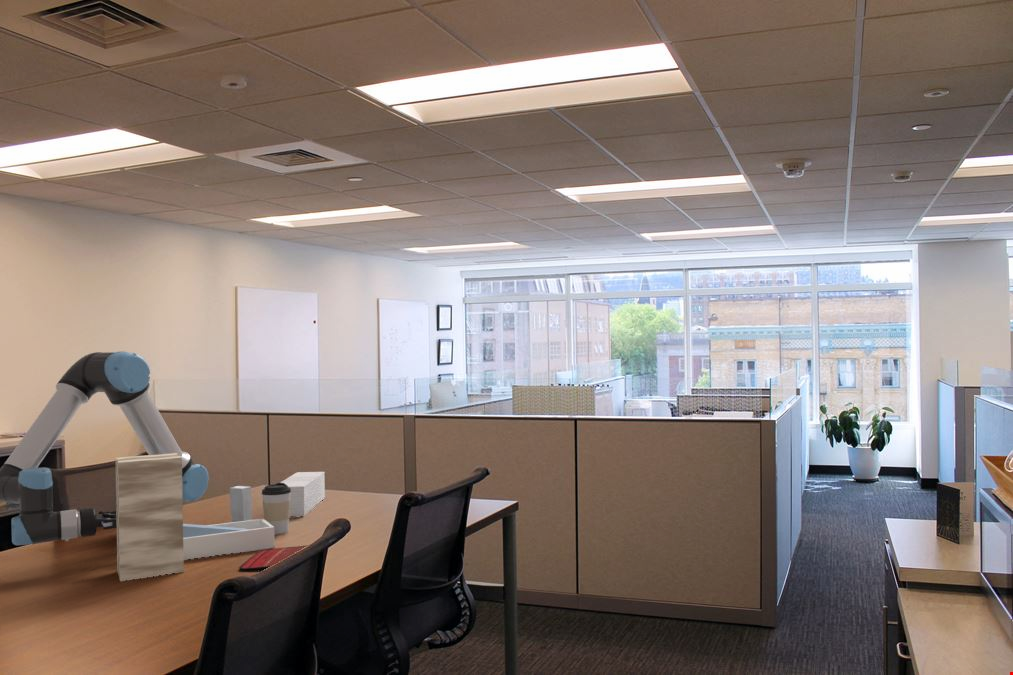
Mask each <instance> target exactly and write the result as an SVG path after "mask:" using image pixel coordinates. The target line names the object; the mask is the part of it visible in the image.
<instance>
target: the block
mask: <svg viewBox="0 0 1013 675" xmlns="http://www.w3.org/2000/svg"><path fill="white" fill-rule="evenodd" d="M207 525H208V524H207ZM207 525H206V524H194V523H183V538H187V537H195V536H203V535H211V534H218V533H226V532H234V531H242V530H248V529H246V528H234V527H220V526H207Z"/></svg>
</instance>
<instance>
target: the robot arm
mask: <svg viewBox="0 0 1013 675" xmlns="http://www.w3.org/2000/svg"><path fill="white" fill-rule="evenodd" d="M150 374H151V369H150V367H149V364H148V362H147V361H146V360H145V358H143V357H142V356H141V355H139V354H137V353H135V352H128V351H126V350H125V351H115V352H114V351H113V352H109V351H108V352H97V351H96V352H91V353H88V354H86V355H84V356H82V357H81V358H79V359H78V360H76V362H74V363H73V364H72V365H71V366H70V367H69V369H67V371H66V372H65V373H64V374H63V375H62V376H61V378H60V379H59V380H58V382H57V383H56V384H55V393H53V396H52V397H51V398H50V399H49V401H48V402H47V403H46V405H45V406H44V408H43V409H42V411H41V412H40V413H39V415H38V416H37V418H36V419H35V420H34V422H33V423H32V424H31V426H30V427H29V429H28V430H27V432H26V433H25V434H24V436H23V437H22V438H21V440H20V441H19V443H18V444H17V445H16V447H15V448H14V450H13V451H12V452H11V454H10V455H9V457H8V458H7V459H6V461H5V462H4V463H3V465H2V466H1V467H0V503H9V504H19V515H17V516H14V517H12V518H11V523H10V524H11V543H12V544H13V545H15V546H25V545H26V546H28V545H32V546H33V545H36V544H42V543H48V542H49V543H50V542H55V541H61V540H62V541H63V540H65V542H69V541H70V539H76V538H78V537H79V536H80V537H81V538H87V537H93V536H95V535H96V534H97V528H103V530H109V529H110V530H112V529H117V520H116V508H115V509H110V510H100V511H98V513H97V514H96V508H95V507H86V508H80V509H79V510H77V509H67V510H61V511H54V506H53V492H54V490H53V484H54V481H53V475H52V471H51V469H50V468H48V467H39V466H40V464H41V463H42V462H43V460H44V459H45V457H46V456H47V454H48V453H49V452H50V450H51V449H52V447H54V444H55V443H56V441H57V440H58V439H59V438H60V436H61V435H62V433H63V431H64V430H65V429H66V427H67V426H68V424H69V423H70V421H71V420H72V418H73V417H74V416H75V414H76V413H77V411H78V410H79V408H80V407H81V405H83V404H86V403H87V404H88V402H89V401H90V399H91V398H92V396H94V395H95V394H96V393H104V394H105V395H106V397H107V398H108V401H109V402H110V403H111V405H112V406H113V405H114V406H116V407H117V406H118V407H120V409H121V411H122V413H123V415H124V416H125V418H126V419H127V421H128V422H129V424H130V426H131V428H132V430H133V431H134V432H135V434H136V436H137V438H138V439H139V441H140V443H141V444H142V447H143V448H144V449H145V451H146V453H147V454H148V455H157V454H170V453H177V454H178V455H179V456H181V457H182V498H183V503H187V502H189V503H190V502H195V501H197V500H199V499H200V498H202V496H203V495H204V494H205V492H206V491H207V489H208V484H209V480H210V479H209V478H210V477H209V471H208V469H207V468H206V467H205V466H203V465H202V464H200V463H199V464H198V463H195V462H194V460H193V458H192V457H191V455H190V454H189V453H188V452H187V451H183V450H182V449H181V447H180V446H179V445H178V443H177V441H176V439H175V437H174V435H173V434H172V432H171V430H170V428H169V426H168V425H167V423H166V421H165V420H164V418H163V416H162V414H161V412H160V411H159V409H158V407H157V406H156V404H155V402H154V400H153V399H152V397H151V395H150V393H149V390H150V387H151V385H150V379H151V376H150Z"/></svg>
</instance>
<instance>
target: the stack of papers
mask: <svg viewBox="0 0 1013 675" xmlns="http://www.w3.org/2000/svg"><path fill="white" fill-rule="evenodd" d="M325 472H326V471H299V472H295V473H294V474H292V475H290V476H289V477H287V478H286V479H284V480H282V481H280V482H279V483H284V484H286V485H287V486H288V487H289V488H291V492H290V499H291V502H290V516H304V515H306V514H307V513H308V512H309V511H310V510H312V509H313V508H314V507H315V506H316V505H317V504H318V503H319V502H320V501H322V500H323V499H324V498H325V499H326V493H325V492H326V488H325V486H326V485H325V482H326V481H325V480H326V478H325V474H326V473H325ZM323 501H324V500H323ZM323 501H322V502H323ZM315 508H316V507H315ZM315 508H314V509H315ZM314 509H313V510H314ZM313 510H312V511H313ZM307 515H308V514H307ZM307 515H306V516H307Z"/></svg>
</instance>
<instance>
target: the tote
mask: <svg viewBox="0 0 1013 675" xmlns="http://www.w3.org/2000/svg"><path fill="white" fill-rule="evenodd" d="M207 526H220V527H234V528H246V529H248V530H242V531H234V532H226V533H218V534H211V535H203V536H195V537H187V538H183V557H184V561H188V559H191V560H195V559H194V558H198V559H202V558H201V557H205V558H210V557H209V556H212V557H216V556H215V555H219V556H223V555H222V554H226V555H232V554H231V553H233V554H240V552H241V553H248V552H253V551H262V550H265V549H276V548H275V547H276V546H275V545H276V544H275V543H276V542H275V540H276V539H275V534H274V526H272V525H271V524H270V523H268V522H267V521H266V520H265V519H264V518H257V519H253V520H247V521H239V522H231V521H230V522H224V523H218V524H217V523H216V524H207Z"/></svg>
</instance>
